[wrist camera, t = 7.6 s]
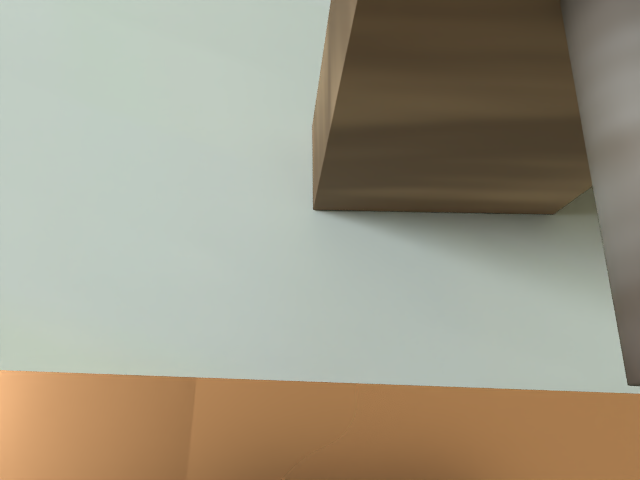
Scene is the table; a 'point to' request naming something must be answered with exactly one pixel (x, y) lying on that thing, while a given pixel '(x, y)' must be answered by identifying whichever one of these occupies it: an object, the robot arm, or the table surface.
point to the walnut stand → (488, 117)
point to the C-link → (307, 430)
